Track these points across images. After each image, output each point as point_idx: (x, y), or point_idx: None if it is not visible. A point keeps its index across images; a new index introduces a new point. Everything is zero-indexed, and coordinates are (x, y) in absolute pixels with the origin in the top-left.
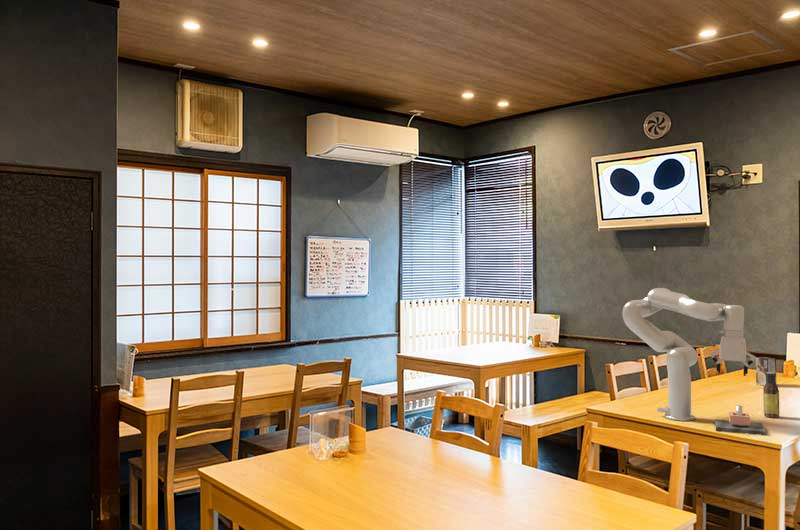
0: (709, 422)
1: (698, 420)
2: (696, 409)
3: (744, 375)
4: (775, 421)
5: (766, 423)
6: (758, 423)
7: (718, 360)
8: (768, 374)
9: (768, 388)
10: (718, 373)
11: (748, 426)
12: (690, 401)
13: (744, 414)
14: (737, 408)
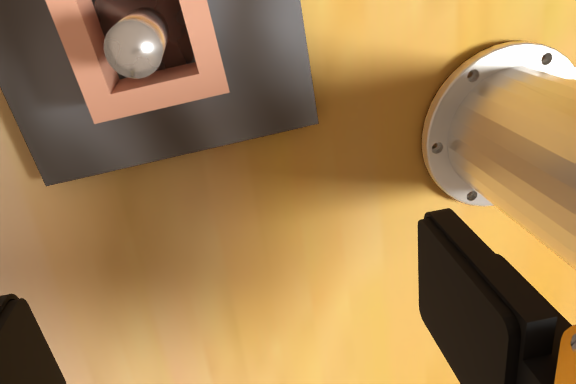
0: (341, 113)
1: (401, 130)
2: (421, 371)
3: (7, 296)
4: None
5: (62, 282)
6: (60, 167)
7: None
8: None
9: None
10: (442, 214)
11: None
12: (507, 161)
13: (114, 91)
14: (144, 21)
